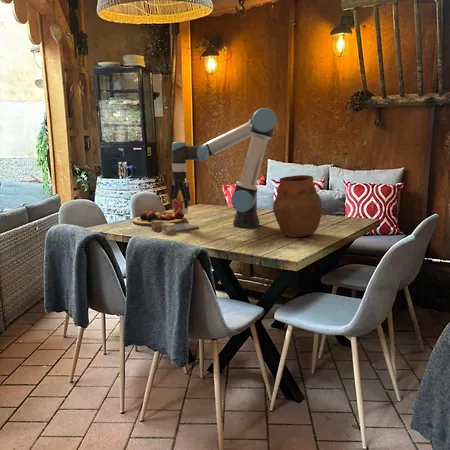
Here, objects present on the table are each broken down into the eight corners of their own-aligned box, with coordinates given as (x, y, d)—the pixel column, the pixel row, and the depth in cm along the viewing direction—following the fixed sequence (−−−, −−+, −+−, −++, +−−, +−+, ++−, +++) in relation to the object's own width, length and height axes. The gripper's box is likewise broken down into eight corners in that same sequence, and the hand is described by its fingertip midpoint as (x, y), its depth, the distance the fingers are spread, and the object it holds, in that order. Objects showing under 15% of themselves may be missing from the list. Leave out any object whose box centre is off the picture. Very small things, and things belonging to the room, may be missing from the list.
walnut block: (163, 230, 234) (162, 221, 233) (154, 231, 232) (154, 222, 231) (160, 228, 239) (159, 220, 238) (151, 229, 237) (151, 220, 236)
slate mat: (198, 228, 238) (198, 226, 238) (178, 232, 229) (178, 230, 229) (183, 225, 248) (183, 223, 248) (163, 228, 239) (163, 226, 239)
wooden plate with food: (196, 219, 268) (195, 206, 267) (168, 228, 240) (167, 213, 238) (152, 216, 282) (152, 204, 280) (121, 225, 253) (121, 211, 252)
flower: (170, 211, 230) (179, 199, 230) (165, 206, 238) (174, 194, 237) (184, 220, 235) (192, 208, 235) (179, 214, 243) (187, 202, 242)
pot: (262, 234, 222) (263, 176, 216) (295, 228, 236) (296, 173, 230) (297, 243, 203) (299, 179, 197) (330, 235, 217) (333, 176, 211)
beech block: (175, 233, 228) (175, 223, 227) (169, 234, 224) (168, 225, 223) (168, 231, 231) (168, 222, 230) (162, 233, 227) (161, 224, 226)
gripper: (197, 171, 227) (197, 214, 232) (173, 169, 243) (174, 209, 247) (185, 172, 222) (186, 216, 227) (162, 170, 238) (163, 211, 242)
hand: (180, 212), depth 237 cm, fingers closed on flower, 8 cm apart
